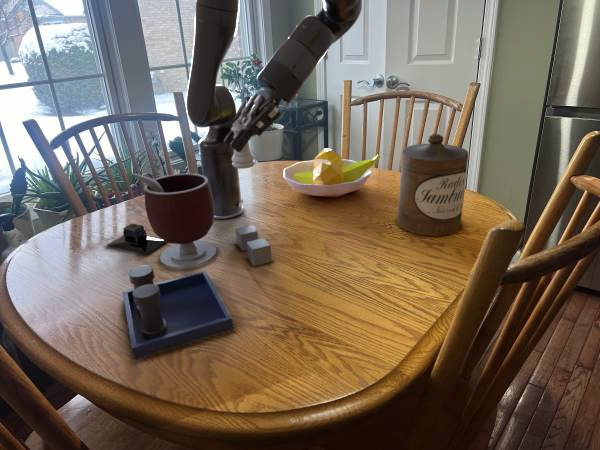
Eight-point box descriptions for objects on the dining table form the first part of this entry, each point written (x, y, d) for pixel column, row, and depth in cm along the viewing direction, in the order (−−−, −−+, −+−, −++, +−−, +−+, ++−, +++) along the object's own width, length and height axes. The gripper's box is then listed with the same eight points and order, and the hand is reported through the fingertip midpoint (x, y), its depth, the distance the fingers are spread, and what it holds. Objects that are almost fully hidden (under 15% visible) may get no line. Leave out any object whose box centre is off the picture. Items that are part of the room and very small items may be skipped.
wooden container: (423, 241, 98) (431, 145, 89) (385, 218, 111) (389, 132, 102) (474, 228, 104) (486, 136, 95) (432, 207, 116) (440, 124, 107)
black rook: (136, 307, 79) (127, 268, 75) (159, 301, 80) (151, 263, 77) (139, 319, 75) (129, 279, 72) (162, 312, 77) (154, 273, 74)
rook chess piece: (232, 163, 85) (227, 121, 81) (255, 161, 85) (251, 120, 82) (231, 169, 81) (226, 126, 77) (255, 168, 81) (251, 124, 78)
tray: (125, 303, 81) (122, 291, 80) (207, 281, 87) (206, 270, 86) (135, 362, 66) (131, 348, 65) (233, 331, 72) (232, 318, 71)
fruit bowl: (266, 196, 130) (262, 159, 125) (315, 171, 150) (314, 138, 145) (348, 214, 115) (348, 172, 110) (391, 183, 135) (393, 147, 130)
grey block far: (236, 244, 102) (235, 228, 100) (253, 240, 103) (251, 224, 101) (242, 251, 98) (240, 235, 97) (259, 246, 100) (257, 231, 98)
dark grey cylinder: (141, 328, 73) (131, 287, 70) (165, 321, 74) (157, 281, 71) (144, 342, 70) (133, 300, 66) (169, 334, 71) (160, 293, 68)
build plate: (167, 242, 104) (164, 224, 102) (146, 256, 98) (142, 237, 96) (128, 234, 109) (124, 217, 107) (105, 247, 103) (101, 229, 101)
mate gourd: (220, 238, 104) (209, 157, 96) (220, 267, 92) (208, 176, 84) (153, 246, 102) (136, 163, 94) (144, 276, 90) (124, 184, 82)
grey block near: (248, 258, 95) (246, 242, 93) (265, 254, 96) (263, 237, 95) (254, 266, 92) (252, 249, 90) (271, 261, 93) (270, 245, 91)
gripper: (259, 55, 84) (205, 128, 84) (289, 58, 72) (226, 142, 72) (286, 82, 88) (234, 150, 88) (318, 88, 76) (259, 168, 77)
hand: (231, 146), depth 80 cm, fingers closed on rook chess piece, 3 cm apart
